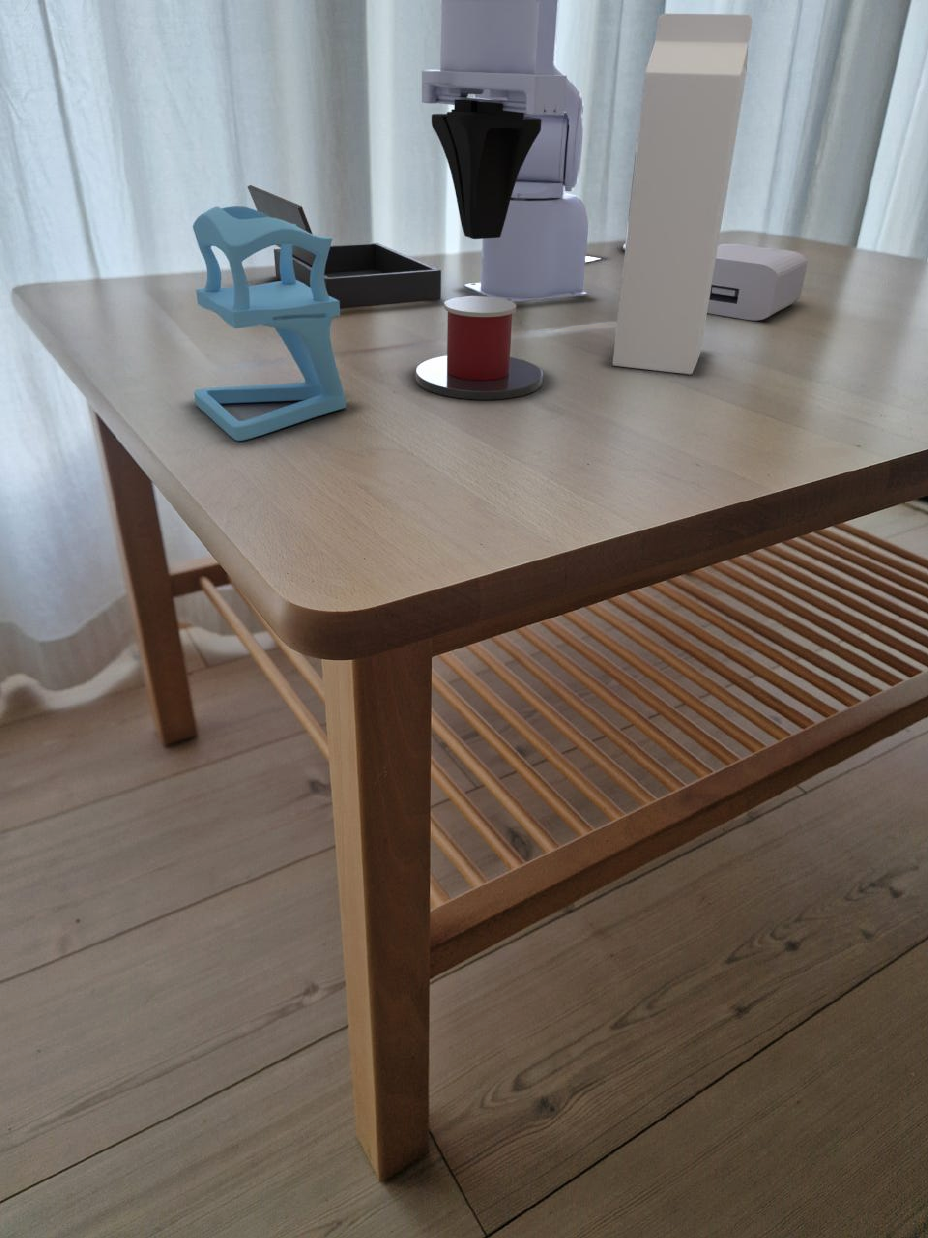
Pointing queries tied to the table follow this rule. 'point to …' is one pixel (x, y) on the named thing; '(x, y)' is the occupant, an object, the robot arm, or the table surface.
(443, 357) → the coaster
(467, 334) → the cylinder
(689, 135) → the milk
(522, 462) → the table surface
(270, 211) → the flap
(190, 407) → the table surface
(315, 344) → the chair
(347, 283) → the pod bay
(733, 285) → the charger
